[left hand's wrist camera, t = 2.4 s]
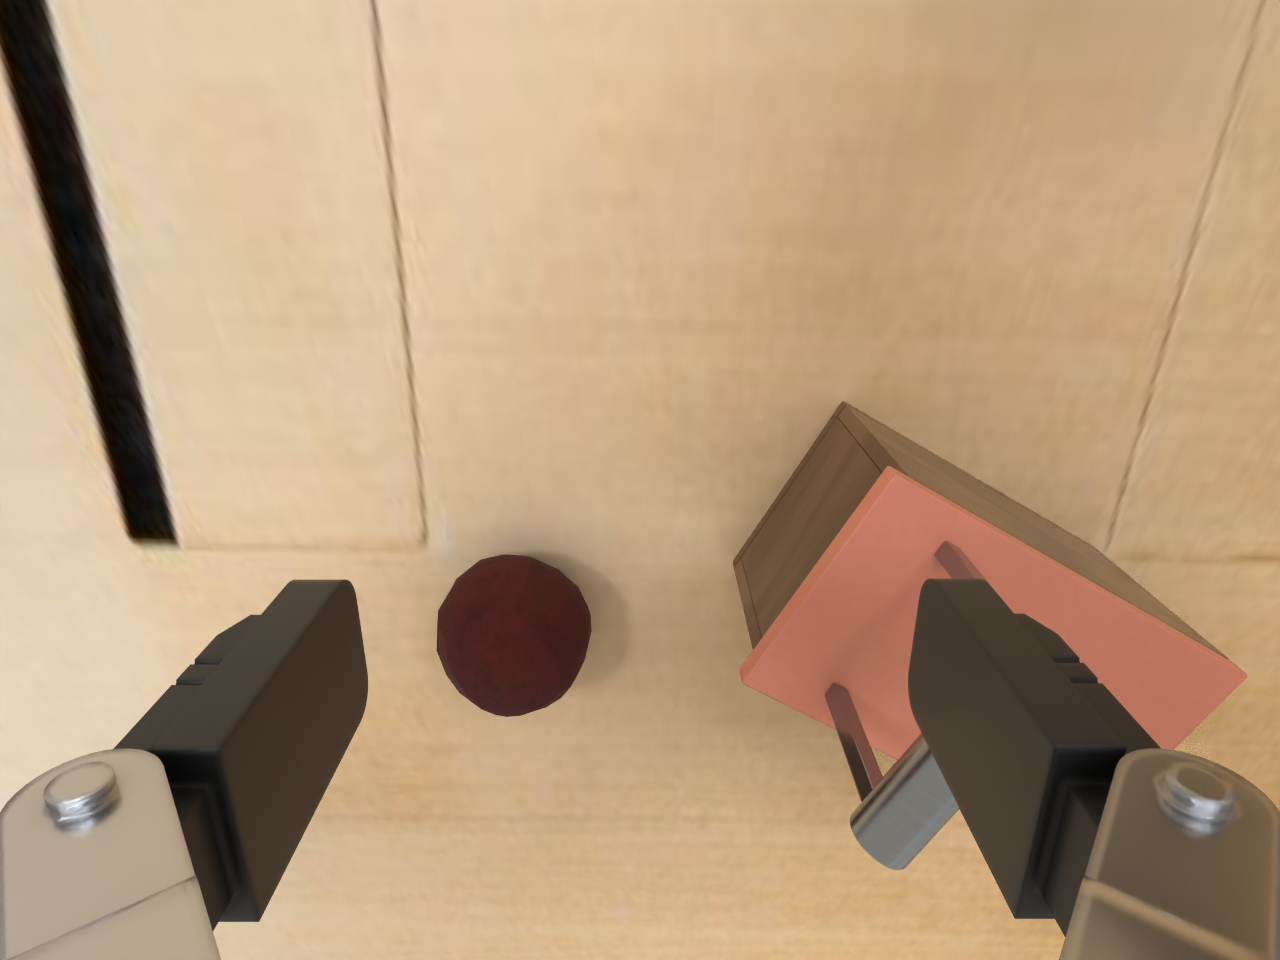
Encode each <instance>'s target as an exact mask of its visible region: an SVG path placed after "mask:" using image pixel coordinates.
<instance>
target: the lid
mask: <svg viewBox="0 0 1280 960" xmlns="http://www.w3.org/2000/svg"><path fill="white" fill-rule="evenodd" d="M927 579H984V580H985V581H987V582H988V584H989V585H990V586H991V587H992V588H993V589H994V591H995V592H996V593H997V594H998V595H999V597H1000V598H1001V599H1002V600H1003V601H1004V602H1005V604H1006V605H1007V606H1008V607H1009V608H1010V610H1011V611H1012V612H1013V613H1024V614H1026V615H1028V616H1029V617H1031V618H1032V619H1034V620H1036V621H1037V622H1039V623H1041V624H1042V625H1044V626H1046V627H1047V628H1049V629H1051V630H1052V631H1054V632H1055V633H1057V634H1058V635H1059V636H1060V637H1061V638H1062V639H1063V640H1064V641H1065V642H1066V644H1067V645H1068V646H1069V647H1070V648H1071V649H1072V650H1073V651H1074V652H1075V653H1076V655H1077V656H1078V657H1079V658H1080V659H1079V660H1080V663H1085V665H1086V666H1087V667H1088V668H1089V669H1090V670H1091V671H1092V672H1093V673H1094V675H1095V676H1096V677H1097V678H1098V683H1103V684H1104V686H1105V687H1106V688H1107V689H1108V690H1109V691H1110V692H1111V693H1112V694H1113V696H1114V697H1115V698H1116V699H1117V700H1118V701H1119V702H1120V703H1121V704H1122V706H1123V707H1124V708H1125V709H1126V710H1127V711H1128V712H1129V713H1130V714H1131V715H1132V717H1133V718H1134V719H1135V720H1136V721H1137V722H1138V723H1139V724H1140V725H1141V727H1142V728H1143V729H1144V730H1145V731H1146V732H1147V733H1148V734H1149V735H1150V737H1151V738H1152V739H1153V740H1154V741H1155V742H1156V743H1157V744H1158V745H1159V746H1160V748H1161V749H1168V750H1174V749H1175V748H1176V747H1177V746H1178V745H1179V744H1180V743H1181V742H1182V741H1183V740H1184V739H1185V738H1186V737H1187V736H1188V735H1189V734H1190V733H1191V732H1192V731H1193V730H1194V729H1195V728H1196V727H1197V726H1198V725H1199V724H1200V723H1201V722H1202V721H1203V720H1204V719H1205V718H1206V717H1207V716H1208V715H1209V714H1210V713H1211V712H1212V711H1213V710H1214V709H1215V708H1216V707H1217V706H1218V705H1219V704H1220V703H1221V702H1222V701H1223V700H1224V699H1225V698H1226V697H1227V696H1228V695H1229V694H1230V693H1231V692H1232V691H1233V690H1234V689H1235V688H1236V687H1237V686H1238V685H1239V684H1240V683H1241V682H1242V681H1243V680H1244V679H1245V678H1246V677H1247V674H1246V673H1245V672H1244V671H1243V670H1241V669H1240V668H1239V667H1238V666H1237V665H1235V664H1234V663H1233V662H1232V661H1230V660H1228V659H1227V658H1225V657H1223V656H1221V655H1220V654H1218V653H1216V652H1214V651H1213V650H1211V649H1209V648H1207V647H1206V646H1204V645H1202V644H1200V643H1199V642H1197V641H1195V640H1193V639H1192V638H1190V637H1188V636H1186V635H1185V634H1183V633H1181V632H1179V631H1178V630H1176V629H1174V628H1172V627H1171V626H1169V625H1167V624H1165V623H1164V622H1162V621H1160V620H1158V619H1157V618H1155V617H1153V616H1151V615H1150V614H1148V613H1146V612H1144V611H1143V610H1141V609H1139V608H1137V607H1136V606H1134V605H1132V604H1130V603H1129V602H1127V601H1125V600H1123V599H1122V598H1120V597H1118V596H1116V595H1115V594H1113V593H1111V592H1109V591H1108V590H1106V589H1104V588H1102V587H1101V586H1099V585H1097V584H1095V583H1094V582H1092V581H1090V580H1088V579H1087V578H1085V577H1083V576H1081V575H1080V574H1078V573H1076V572H1074V571H1073V570H1071V569H1069V568H1067V567H1066V566H1064V565H1062V564H1060V563H1059V562H1057V561H1055V560H1053V559H1052V558H1050V557H1048V556H1046V555H1045V554H1043V553H1041V552H1039V551H1038V550H1036V549H1034V548H1032V547H1031V546H1029V545H1027V544H1025V543H1024V542H1022V541H1020V540H1018V539H1017V538H1015V537H1013V536H1011V535H1010V534H1008V533H1006V532H1004V531H1003V530H1001V529H999V528H997V527H996V526H994V525H992V524H990V523H989V522H987V521H985V520H983V519H982V518H980V517H978V516H976V515H975V514H973V513H971V512H969V511H968V510H966V509H964V508H962V507H961V506H959V505H957V504H955V503H954V502H952V501H950V500H948V499H947V498H945V497H943V496H941V495H940V494H938V493H936V492H934V491H933V490H931V489H929V488H927V487H926V486H924V485H922V484H920V483H919V482H917V481H915V480H913V479H912V478H910V477H908V476H906V475H905V474H903V473H901V472H899V471H898V470H896V469H894V468H892V467H891V466H887V467H886V468H885V470H884V471H883V473H882V474H881V475H880V477H879V478H878V479H877V481H876V482H875V484H874V485H873V486H872V488H871V489H870V490H869V492H868V493H867V495H866V496H865V497H864V499H863V500H862V501H861V503H860V504H859V506H858V507H857V508H856V510H855V511H854V512H853V514H852V515H851V517H850V518H849V519H848V521H847V522H846V523H845V525H844V526H843V528H842V529H841V530H840V532H839V533H838V534H837V536H836V537H835V539H834V540H833V541H832V543H831V544H830V545H829V547H828V548H827V550H826V551H825V552H824V554H823V555H822V556H821V558H820V559H819V561H818V562H817V563H816V565H815V566H814V567H813V569H812V570H811V572H810V573H809V574H808V576H807V577H806V578H805V580H804V581H803V583H802V584H801V585H800V587H799V588H798V589H797V591H796V592H795V594H794V595H793V596H792V598H791V599H790V600H789V602H788V603H787V605H786V606H785V607H784V609H783V610H782V611H781V613H780V614H779V616H778V617H777V618H776V620H775V621H774V622H773V624H772V625H771V627H770V628H769V629H768V631H767V632H766V633H765V635H764V636H763V638H762V639H761V640H760V642H759V643H758V644H757V646H756V647H755V649H754V650H753V651H752V653H751V654H750V655H749V657H748V658H747V660H746V661H745V662H744V664H743V665H742V666H741V668H740V674H741V679H742V683H743V684H744V685H746V686H748V687H750V688H752V689H754V690H757V691H759V692H761V693H763V694H765V695H767V696H769V697H771V698H773V699H775V700H777V701H779V702H781V703H783V704H785V705H787V706H789V707H791V708H793V709H795V710H797V711H799V712H801V713H803V714H805V715H807V716H809V717H811V718H813V719H815V720H817V721H820V722H822V723H824V724H826V725H828V726H830V727H832V728H834V729H836V730H837V733H838V736H839V739H840V742H841V744H842V747H843V750H844V753H845V756H846V759H847V762H848V765H849V767H850V770H851V773H852V776H853V779H854V782H855V785H856V788H857V790H858V793H859V796H860V799H861V802H862V803H861V804H860V805H859V806H858V807H857V808H856V810H855V811H854V812H853V813H852V814H851V817H850V826H851V829H852V832H853V834H854V836H855V837H856V839H857V840H858V842H859V843H860V845H861V846H862V847H863V848H864V849H865V851H866V852H867V853H868V854H869V855H871V856H872V857H873V858H874V859H875V860H877V861H878V862H879V863H881V864H882V865H884V866H886V867H888V868H891V869H894V870H902V869H904V868H906V867H907V865H908V864H909V863H910V862H911V861H912V860H913V859H914V858H915V857H916V856H917V855H918V853H919V852H920V851H921V850H922V849H923V848H924V847H925V846H926V845H927V844H928V843H929V841H930V840H931V839H932V838H933V837H934V836H935V835H936V834H937V833H938V832H939V831H940V829H941V828H942V827H943V826H944V825H945V824H946V823H947V822H948V821H949V820H950V818H951V817H952V816H953V815H954V814H955V813H956V812H957V811H958V810H959V809H960V808H959V806H958V804H957V802H956V800H955V798H954V796H953V794H952V792H951V790H950V788H949V786H948V784H947V782H946V780H945V778H944V776H943V774H942V772H941V770H940V768H939V767H938V765H937V763H936V761H935V759H934V757H933V755H932V753H931V751H930V749H929V747H928V745H927V743H926V741H925V739H924V737H923V735H922V733H921V731H920V729H919V727H918V725H917V723H916V721H915V718H914V716H913V713H912V710H911V706H910V701H909V693H908V672H909V665H910V658H911V651H912V644H913V637H914V630H915V623H916V616H917V609H918V602H919V596H920V591H921V588H922V585H923V583H924V582H925V581H926V580H927ZM871 747H872V748H874V749H876V750H878V751H880V752H883V753H885V754H887V755H889V756H891V757H893V758H895V759H897V762H896V763H895V764H894V765H893V766H892V768H891V769H890V770H889V771H888V772H887V773H886V775H885V776H884V777H882V774H881V772H880V769H879V766H878V764H877V761H876V759H875V756H874V754H873V751H872V749H871Z"/></svg>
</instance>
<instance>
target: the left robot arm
mask: <svg viewBox="0 0 1280 960" xmlns="http://www.w3.org/2000/svg"><path fill="white" fill-rule="evenodd" d="M1079 659H1080V658H1079V657H1078V656H1077V655H1076V653H1075V652H1074V651H1073V650H1072V649H1071V648H1070V647H1069V646H1068V645H1067V644H1066V642H1065V641H1064V640H1063V639H1062V638H1061V637H1060V636H1059V635H1058V634H1057V633H1055V632H1054V631H1052V630H1051V629H1049V628H1047V627H1046V626H1044V625H1042V624H1041V623H1039V622H1037V621H1036V620H1034V619H1032V618H1031V617H1029V616H1028V615H1026V614H1024V613H1013V612H1012V611H1011V610H1010V608H1009V607H1008V606H1007V605H1006V604H1005V602H1004V601H1003V600H1002V599H1001V598H1000V597H999V595H998V594H997V593H996V592H995V591H994V589H993V588H992V587H991V586H990V585H989V584H988V582H987V581H985V580H984V579H927V580H926V581H925V582H924V583H923V585H922V588H921V591H920V596H919V602H918V609H917V616H916V623H915V630H914V637H913V644H912V651H911V658H910V665H909V672H908V693H909V701H910V706H911V710H912V713H913V716H914V718H915V721H916V723H917V725H918V727H919V729H920V731H921V733H922V735H923V737H924V739H925V741H926V743H927V745H928V747H929V749H930V751H931V753H932V755H933V757H934V759H935V761H936V763H937V765H938V767H939V768H940V770H941V772H942V774H943V776H944V778H945V780H946V782H947V784H948V786H949V788H950V790H951V792H952V794H953V796H954V798H955V800H956V802H957V804H958V806H959V808H960V810H961V812H962V814H963V816H964V818H965V820H966V822H967V824H968V826H969V828H970V830H971V832H972V834H973V836H974V838H975V840H976V842H977V844H978V846H979V848H980V850H981V852H982V854H983V856H984V858H985V860H986V862H987V864H988V866H989V868H990V870H991V872H992V874H993V876H994V878H995V880H996V882H997V884H998V886H999V888H1000V890H1001V892H1002V894H1003V896H1004V898H1005V900H1006V902H1007V904H1008V906H1009V908H1010V910H1011V912H1012V914H1013V916H1014V918H1015V919H1055V920H1056V921H1057V923H1058V925H1059V927H1060V929H1061V930H1062V932H1063V934H1064V936H1065V941H1064V944H1063V948H1062V951H1061V955H1060V958H1059V960H1280V812H1279V810H1278V809H1277V808H1276V806H1275V805H1274V803H1273V802H1272V801H1271V800H1270V799H1269V798H1268V797H1267V796H1266V795H1265V794H1264V793H1263V792H1262V791H1261V790H1259V789H1258V788H1257V787H1256V786H1255V785H1253V784H1252V783H1251V782H1249V781H1248V780H1246V779H1245V778H1243V777H1242V776H1240V775H1238V774H1237V773H1235V772H1233V771H1231V770H1230V769H1228V768H1226V767H1223V766H1221V765H1219V764H1217V763H1215V762H1212V761H1210V760H1207V759H1205V758H1202V757H1199V756H1196V755H1192V754H1189V753H1185V752H1180V751H1176V750H1168V749H1161V748H1160V746H1159V745H1158V744H1157V743H1156V742H1155V741H1154V740H1153V739H1152V738H1151V737H1150V735H1149V734H1148V733H1147V732H1146V731H1145V730H1144V729H1143V728H1142V727H1141V725H1140V724H1139V723H1138V722H1137V721H1136V720H1135V719H1134V718H1133V717H1132V715H1131V714H1130V713H1129V712H1128V711H1127V710H1126V709H1125V708H1124V707H1123V706H1122V704H1121V703H1120V702H1119V701H1118V700H1117V699H1116V698H1115V697H1114V696H1113V694H1112V693H1111V692H1110V691H1109V690H1108V689H1107V688H1106V687H1105V686H1104V684H1103V683H1098V678H1097V677H1096V676H1095V675H1094V673H1093V672H1092V671H1091V670H1090V669H1089V668H1088V667H1087V666H1086V665H1085V663H1080V660H1079ZM176 681H177V682H176V685H171V686H170V688H169V689H168V690H167V691H166V692H165V693H164V694H163V695H162V696H161V697H160V699H159V700H158V701H157V702H156V703H155V704H154V705H153V706H152V707H151V708H150V709H149V711H148V712H147V713H146V714H145V715H144V716H143V717H142V718H141V719H140V720H139V722H138V723H137V724H136V725H135V726H134V727H133V728H132V729H131V730H130V731H129V733H128V734H127V735H126V736H125V737H124V738H123V739H122V740H121V741H120V742H119V744H118V745H117V746H116V747H115V748H114V749H112V750H104V751H100V752H95V753H91V754H88V755H84V756H81V757H78V758H75V759H73V760H70V761H68V762H65V763H63V764H61V765H59V766H57V767H54V768H52V769H50V770H49V771H47V772H45V773H43V774H42V775H40V776H38V777H37V778H35V779H34V780H32V781H31V782H29V783H28V784H27V785H25V786H24V787H23V788H22V789H21V790H19V791H18V792H17V793H16V794H15V795H14V796H13V797H12V798H11V799H10V800H9V801H8V802H7V803H6V805H5V806H4V808H3V809H2V810H1V812H0V960H221V958H220V955H219V951H218V948H217V944H216V941H215V938H214V934H213V930H214V929H215V927H216V925H217V923H218V922H259V921H260V919H261V917H262V915H263V913H264V911H265V909H266V907H267V905H268V903H269V901H270V899H271V897H272V895H273V893H274V891H275V889H276V887H277V885H278V883H279V881H280V879H281V877H282V875H283V873H284V872H285V870H286V868H287V866H288V864H289V862H290V860H291V858H292V856H293V854H294V852H295V850H296V848H297V846H298V844H299V842H300V840H301V838H302V836H303V834H304V832H305V830H306V828H307V826H308V824H309V822H310V820H311V818H312V816H313V814H314V812H315V810H316V809H317V807H318V805H319V803H320V801H321V799H322V797H323V795H324V793H325V791H326V789H327V787H328V785H329V783H330V781H331V779H332V777H333V775H334V773H335V771H336V769H337V767H338V765H339V763H340V761H341V759H342V757H343V755H344V753H345V751H346V749H347V747H348V745H349V744H350V742H351V740H352V738H353V736H354V734H355V732H356V730H357V728H358V726H359V724H360V722H361V720H362V717H363V714H364V711H365V707H366V702H367V694H368V674H367V667H366V660H365V653H364V646H363V639H362V633H361V626H360V619H359V612H358V605H357V599H356V593H355V590H354V587H353V585H352V584H351V582H350V581H348V580H292V581H290V582H289V583H288V584H287V585H286V586H285V587H284V589H283V590H282V591H281V592H280V593H279V594H278V596H277V597H276V598H275V599H274V600H273V601H272V603H271V604H270V605H269V606H268V607H267V608H266V610H265V611H264V612H263V613H262V614H261V615H250V616H248V617H247V618H245V619H243V620H242V621H240V622H238V623H237V624H235V625H233V626H232V627H230V628H229V629H227V630H225V631H224V632H222V633H220V634H219V635H217V636H216V637H215V638H214V639H213V640H212V641H211V643H210V644H209V645H208V646H207V647H206V648H205V649H204V650H203V651H202V652H201V654H200V655H199V656H198V657H197V658H196V659H195V664H194V665H190V666H189V667H188V668H187V669H186V670H185V671H184V672H183V673H182V674H181V675H180V677H179V678H178V679H177V680H176Z"/></svg>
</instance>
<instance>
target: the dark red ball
mask: <svg viewBox="0 0 1280 960" xmlns="http://www.w3.org/2000/svg"><path fill="white" fill-rule="evenodd" d="M590 635H591V616H590V612H589V609H588V606H587V604H586V602H585V600H584V598H583V596H582V594H581V592H580V590H579V588H578V587H577V586H576V585H575V584H574V583H573V582H571V581H570V580H569V579H568V578H567V577H566V576H565V575H564V574H563V573H561V572H560V571H559V570H558V569H556V568H553V567H551V566H549V565H547V564H544V563H542V562H540V561H538V560H535V559H533V558H531V557H527V556H516V555H499V556H495V557H491V558H486V559H482V560H480V561H479V562H477V563H476V564H475V565H473V566H472V567H471V568H470V569H468V570H467V571H466V572H465V573H463V574H462V575H461V576H460V577H458V578H457V579H456V581H455V583H454V585H453V587H452V588H451V590H450V592H449V594H448V595H447V597H446V599H445V600H444V602H443V604H442V605H441V607H440V609H439V610H438V625H437V652H438V655H439V657H440V660H441V662H442V665H443V667H444V670H445V672H446V675H447V676H448V678H449V679H450V680H451V682H452V683H453V685H454V686H455V687H456V689H457V690H458V691H459V693H460V694H462V695H463V696H464V697H466V698H467V699H468V700H470V701H471V702H472V703H474V704H475V705H477V706H478V707H479V708H481V709H483V710H485V711H487V712H490V713H492V714H495V715H500V716H506V717H509V716H521V715H524V714H527V713H530V712H533V711H536V710H539V709H542V708H545V707H547V706H549V705H550V704H552V703H554V702H555V701H557V700H558V699H560V698H561V697H562V696H563V695H564V694H565V693H566V691H567V690H568V689H569V688H570V687H571V685H572V683H573V682H574V680H575V678H576V676H577V675H578V673H579V671H580V668H581V666H582V664H583V662H584V660H585V656H586V652H587V647H588V643H589V639H590Z"/></svg>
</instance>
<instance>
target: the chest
mask: <svg viewBox="0 0 1280 960" xmlns="http://www.w3.org/2000/svg"><path fill="white" fill-rule="evenodd" d="M887 466H891V467H892V468H894V469H896V470H898V471H899V472H901V473H903V474H905V475H906V476H908V477H910V478H912V479H913V480H915V481H917V482H919V483H920V484H922V485H924V486H926V487H927V488H929V489H931V490H933V491H934V492H936V493H938V494H940V495H941V496H943V497H945V498H947V499H948V500H950V501H952V502H954V503H955V504H957V505H959V506H961V507H962V508H964V509H966V510H968V511H969V512H971V513H973V514H975V515H976V516H978V517H980V518H982V519H983V520H985V521H987V522H989V523H990V524H992V525H994V526H996V527H997V528H999V529H1001V530H1003V531H1004V532H1006V533H1008V534H1010V535H1011V536H1013V537H1015V538H1017V539H1018V540H1020V541H1022V542H1024V543H1025V544H1027V545H1029V546H1031V547H1032V548H1034V549H1036V550H1038V551H1039V552H1041V553H1043V554H1045V555H1046V556H1048V557H1050V558H1052V559H1053V560H1055V561H1057V562H1059V563H1060V564H1062V565H1064V566H1066V567H1067V568H1069V569H1071V570H1073V571H1074V572H1076V573H1078V574H1080V575H1081V576H1083V577H1085V578H1087V579H1088V580H1090V581H1092V582H1094V583H1095V584H1097V585H1099V586H1101V587H1102V588H1104V589H1106V590H1108V591H1109V592H1111V593H1113V594H1115V595H1116V596H1118V597H1120V598H1122V599H1123V600H1125V601H1127V602H1129V603H1130V604H1132V605H1134V606H1136V607H1137V608H1139V609H1141V610H1143V611H1144V612H1146V613H1148V614H1150V615H1151V616H1153V617H1155V618H1157V619H1158V620H1160V621H1162V622H1164V623H1165V624H1167V625H1169V626H1171V627H1172V628H1174V629H1176V630H1178V631H1179V632H1181V633H1183V634H1185V635H1186V636H1188V637H1190V638H1192V639H1193V640H1195V641H1197V642H1199V643H1200V644H1202V645H1204V646H1206V647H1207V648H1209V649H1211V650H1213V651H1214V652H1216V653H1218V654H1220V655H1221V656H1223V657H1225V658H1227V657H1226V656H1225V655H1223V654H1222V653H1221V652H1220V651H1219V650H1217V649H1216V648H1215V647H1214V646H1213V645H1211V644H1210V643H1209V642H1208V641H1207V640H1205V639H1204V638H1203V637H1202V636H1201V635H1199V634H1198V633H1197V632H1196V631H1195V630H1193V629H1192V628H1191V627H1190V626H1189V625H1187V624H1186V623H1185V622H1184V621H1183V620H1181V619H1180V618H1179V617H1178V616H1177V615H1175V614H1174V613H1173V612H1172V611H1171V610H1169V609H1168V608H1167V607H1166V606H1165V605H1163V604H1162V603H1161V602H1160V601H1159V600H1157V599H1156V598H1155V597H1154V596H1153V595H1151V594H1150V593H1149V592H1148V591H1147V590H1145V589H1144V588H1143V587H1142V586H1141V585H1139V584H1138V583H1137V582H1136V581H1134V580H1133V579H1132V578H1131V577H1130V576H1128V575H1127V574H1126V573H1125V572H1124V571H1122V570H1121V569H1120V568H1119V567H1118V566H1116V565H1115V564H1114V563H1113V562H1112V561H1110V560H1109V559H1108V558H1107V557H1106V556H1104V555H1103V554H1102V553H1100V551H1098V550H1097V549H1096V548H1095V547H1093V546H1092V545H1090V544H1088V543H1086V542H1085V541H1083V540H1081V539H1080V538H1078V537H1076V536H1074V535H1073V534H1071V533H1069V532H1068V531H1066V530H1064V529H1062V528H1061V527H1059V526H1057V525H1055V524H1054V523H1052V522H1050V521H1049V520H1047V519H1045V518H1043V517H1042V516H1040V515H1038V514H1037V513H1035V512H1033V511H1031V510H1030V509H1028V508H1026V507H1025V506H1023V505H1021V504H1019V503H1018V502H1016V501H1014V500H1013V499H1011V498H1009V497H1007V496H1006V495H1004V494H1002V493H1000V492H999V491H997V490H995V489H994V488H992V487H990V486H988V485H987V484H985V483H983V482H982V481H980V480H978V479H976V478H975V477H973V476H971V475H970V474H968V473H966V472H964V471H963V470H961V469H959V468H958V467H956V466H954V465H952V464H951V463H949V462H947V461H945V460H944V459H942V458H940V457H939V456H937V455H935V454H933V453H932V452H930V451H928V450H927V449H925V448H923V447H921V446H920V445H918V444H916V443H915V442H913V441H911V440H909V439H908V438H906V437H904V436H903V435H901V434H899V433H897V432H896V431H894V430H892V429H891V428H889V427H887V426H885V425H884V424H882V423H880V422H878V421H877V420H875V419H873V418H872V417H870V416H868V415H866V414H865V413H863V412H861V411H860V410H858V409H856V408H854V407H853V406H851V405H849V404H848V403H846V402H842V403H841V404H840V406H839V407H838V409H837V410H836V412H835V413H834V415H833V416H832V418H831V419H830V421H829V422H828V423H827V425H826V426H825V428H824V429H823V431H822V432H821V434H820V435H819V437H818V438H817V440H816V441H815V442H814V444H813V445H812V447H811V448H810V450H809V451H808V453H807V454H806V456H805V457H804V459H803V460H802V461H801V463H800V464H799V466H798V467H797V469H796V470H795V472H794V473H793V475H792V476H791V478H790V479H789V480H788V482H787V483H786V485H785V486H784V488H783V489H782V491H781V492H780V494H779V495H778V497H777V498H776V499H775V501H774V502H773V504H772V505H771V507H770V508H769V510H768V511H767V513H766V514H765V516H764V517H763V518H762V520H761V521H760V523H759V524H758V526H757V527H756V529H755V530H754V532H753V533H752V535H751V536H750V537H749V539H748V540H747V542H746V543H745V545H744V546H743V548H742V549H741V551H740V552H739V554H738V555H737V556H736V558H735V559H734V561H733V565H734V570H735V574H736V579H737V583H738V587H739V591H740V596H741V600H742V604H743V609H744V613H745V617H746V622H747V626H748V630H749V635H750V639H751V643H752V648H753V650H754V649H755V647H756V646H757V644H758V643H759V642H760V640H761V639H762V638H763V636H764V635H765V633H766V632H767V631H768V629H769V628H770V627H771V625H772V624H773V622H774V621H775V620H776V618H777V617H778V616H779V614H780V613H781V611H782V610H783V609H784V607H785V606H786V605H787V603H788V602H789V600H790V599H791V598H792V596H793V595H794V594H795V592H796V591H797V589H798V588H799V587H800V585H801V584H802V583H803V581H804V580H805V578H806V577H807V576H808V574H809V573H810V572H811V570H812V569H813V567H814V566H815V565H816V563H817V562H818V561H819V559H820V558H821V556H822V555H823V554H824V552H825V551H826V550H827V548H828V547H829V545H830V544H831V543H832V541H833V540H834V539H835V537H836V536H837V534H838V533H839V532H840V530H841V529H842V528H843V526H844V525H845V523H846V522H847V521H848V519H849V518H850V517H851V515H852V514H853V512H854V511H855V510H856V508H857V507H858V506H859V504H860V503H861V501H862V500H863V499H864V497H865V496H866V495H867V493H868V492H869V490H870V489H871V488H872V486H873V485H874V484H875V482H876V481H877V479H878V478H879V477H880V475H881V474H882V473H883V471H884V470H885V468H886V467H887ZM1227 659H1228V658H1227ZM1228 660H1229V659H1228Z"/></svg>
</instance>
